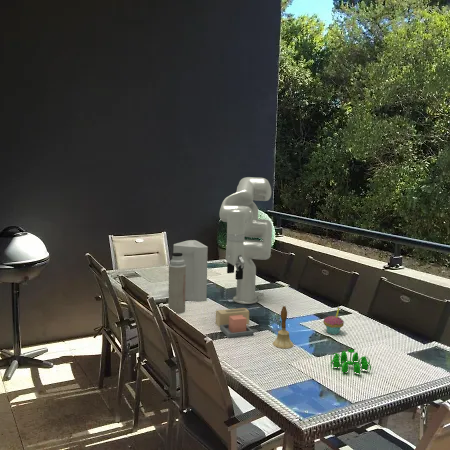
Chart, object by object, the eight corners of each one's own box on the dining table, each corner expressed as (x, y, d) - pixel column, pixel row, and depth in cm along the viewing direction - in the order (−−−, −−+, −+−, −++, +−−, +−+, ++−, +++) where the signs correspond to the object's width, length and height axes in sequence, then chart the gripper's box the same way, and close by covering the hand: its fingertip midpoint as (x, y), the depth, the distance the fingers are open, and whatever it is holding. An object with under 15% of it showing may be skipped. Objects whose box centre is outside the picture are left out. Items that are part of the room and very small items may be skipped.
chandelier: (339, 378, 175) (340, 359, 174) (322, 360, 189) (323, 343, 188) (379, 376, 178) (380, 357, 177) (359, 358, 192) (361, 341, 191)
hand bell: (280, 350, 198) (281, 310, 195) (268, 342, 205) (270, 304, 202) (297, 346, 202) (299, 308, 199) (285, 339, 209) (287, 302, 206)
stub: (241, 327, 219) (242, 314, 218) (246, 332, 214) (246, 318, 213) (228, 329, 217) (229, 315, 216) (233, 333, 212) (233, 319, 211)
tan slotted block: (244, 320, 230) (245, 307, 229) (248, 324, 225) (249, 311, 224) (215, 323, 225) (215, 310, 224) (219, 327, 220) (219, 313, 220)
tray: (243, 326, 222) (243, 322, 222) (253, 335, 212) (253, 331, 212) (219, 329, 218) (219, 325, 218) (228, 338, 208) (229, 334, 208)
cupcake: (344, 330, 221) (345, 304, 219) (341, 337, 213) (343, 309, 211) (324, 327, 224) (325, 301, 222) (321, 334, 216) (322, 307, 214)
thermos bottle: (187, 309, 244) (188, 252, 240) (182, 314, 236) (183, 255, 232) (171, 307, 245) (171, 251, 241) (166, 312, 238) (166, 254, 233)
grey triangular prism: (168, 293, 269) (168, 241, 265) (194, 290, 275) (195, 240, 270) (179, 303, 252) (179, 248, 247) (207, 301, 257) (208, 247, 253)
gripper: (220, 233, 223) (219, 271, 226) (235, 242, 207) (234, 282, 210) (236, 232, 225) (235, 270, 228) (252, 241, 209) (250, 281, 213)
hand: (234, 276), depth 219 cm, fingers open, 9 cm apart
